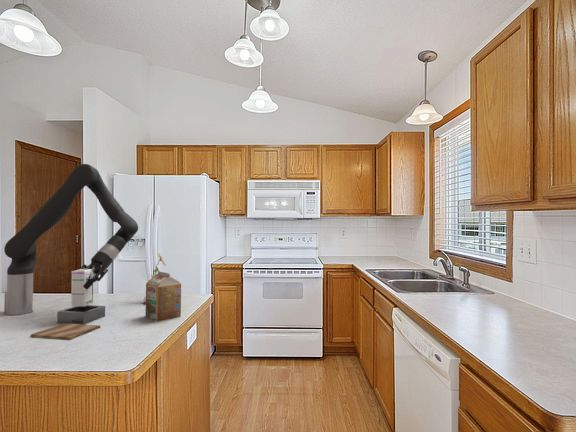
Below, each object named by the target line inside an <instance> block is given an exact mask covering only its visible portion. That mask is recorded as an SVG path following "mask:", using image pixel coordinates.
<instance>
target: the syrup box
mask: <svg viewBox="0 0 576 432" xmlns="http://www.w3.org/2000/svg"><path fill="white" fill-rule="evenodd" d="M79 269H80V268H79ZM79 269H76V270H71V283H72V285H71V289H70V290H71V293H70V294H71V297H70V298H71V301H70V303H71V307H74V306H86V305H93V303H94V283H93V284H92V285H91V286H90V287H89V288H88V289H85V288H84V287H83V285H84V284H85V283H86V282H87V281H88V280H89V279H90V277H91V271H92V269H80V270H79Z"/></svg>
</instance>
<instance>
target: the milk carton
mask: <svg viewBox="0 0 576 432" xmlns="http://www.w3.org/2000/svg"><path fill="white" fill-rule="evenodd" d="M156 274H157V275H156V276H154V277H153V278H152V277H151V278H150V280H147V282H146V283H145V296H146V302H145V318H147V319H150V320H152V321H155V322H156V323H157V322H158V323H159V322H162V321H166V320H172V319H176V318H181V317H182V315H181V314H182V283H181V282H180V281H179V280H177V279H175V278H174V277H171V273H170V272H166V271H165V272H164V271H160V270H159V271H157V273H156Z"/></svg>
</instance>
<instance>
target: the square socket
mask: <svg viewBox="0 0 576 432" xmlns="http://www.w3.org/2000/svg"><path fill="white" fill-rule="evenodd" d="M56 313H57V314H56V323H57V324H63V323H70V324H85V325H88V324H89V323H92V322H95V321H97V320H100V319H102V318H105V317H106V305H96V304H95V305H94V304H89V305H86V306H71V307H68V308H65V309H60V310H58V311H56ZM94 320H95V321H94Z"/></svg>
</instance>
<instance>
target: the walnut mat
mask: <svg viewBox="0 0 576 432" xmlns="http://www.w3.org/2000/svg"><path fill="white" fill-rule="evenodd" d="M100 328H101V325H97V324H70V323H59V324H57V325H54V326H51V327H48V328H46V329H42V330H39V331H36V332H34V333H32V334H30V337H31V338H40V339H41V338H43V339H53V340H54V339H55V340H64V341H65V340H67V341H71V340H73V339H74V340H75V339H77V338H78V337H81V336H83V335H86V334H88V333H91V332H93V331H95V330H98V329H100Z"/></svg>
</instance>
